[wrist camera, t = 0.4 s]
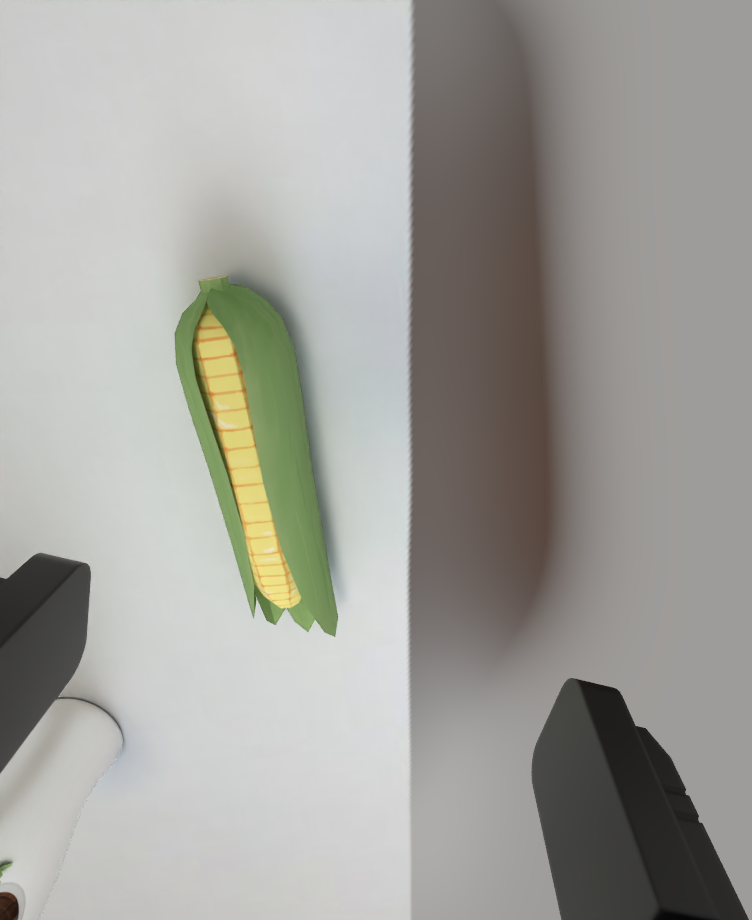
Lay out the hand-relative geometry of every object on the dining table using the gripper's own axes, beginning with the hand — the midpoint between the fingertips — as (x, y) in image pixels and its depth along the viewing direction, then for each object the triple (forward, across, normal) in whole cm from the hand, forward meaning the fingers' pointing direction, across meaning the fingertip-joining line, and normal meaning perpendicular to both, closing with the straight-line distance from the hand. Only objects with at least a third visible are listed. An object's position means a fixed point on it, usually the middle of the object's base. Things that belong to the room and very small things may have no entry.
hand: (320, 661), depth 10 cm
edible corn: (+21, +4, +6) cm, 22 cm away
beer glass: (+21, +14, +28) cm, 38 cm away
